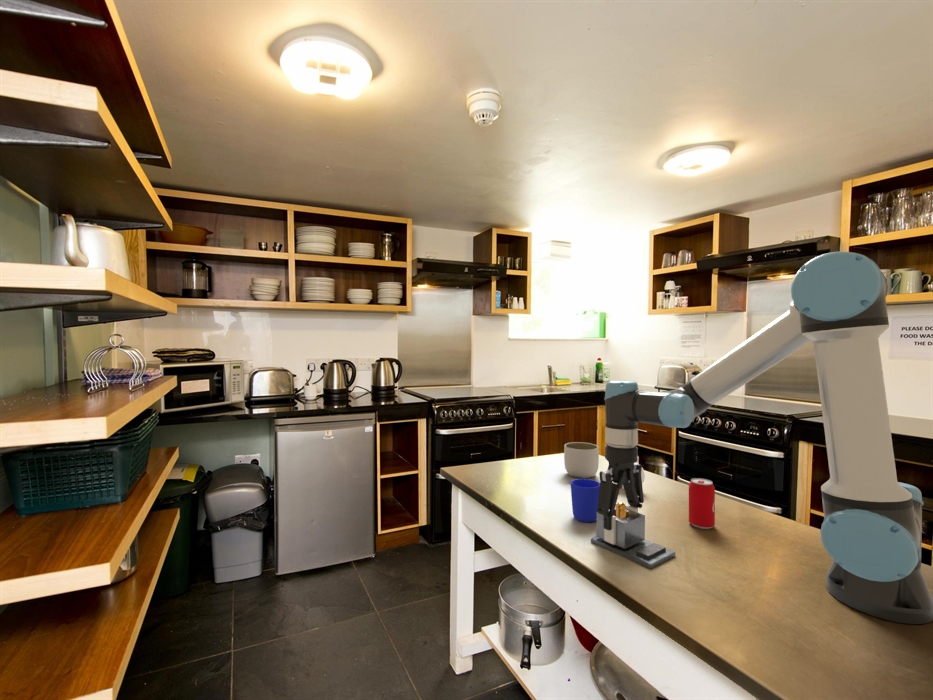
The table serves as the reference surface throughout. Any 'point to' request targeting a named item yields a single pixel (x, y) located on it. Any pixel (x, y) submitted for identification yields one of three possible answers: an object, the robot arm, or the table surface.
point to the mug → (585, 499)
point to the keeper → (637, 547)
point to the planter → (581, 459)
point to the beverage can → (702, 503)
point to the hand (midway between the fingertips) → (621, 537)
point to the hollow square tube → (625, 528)
